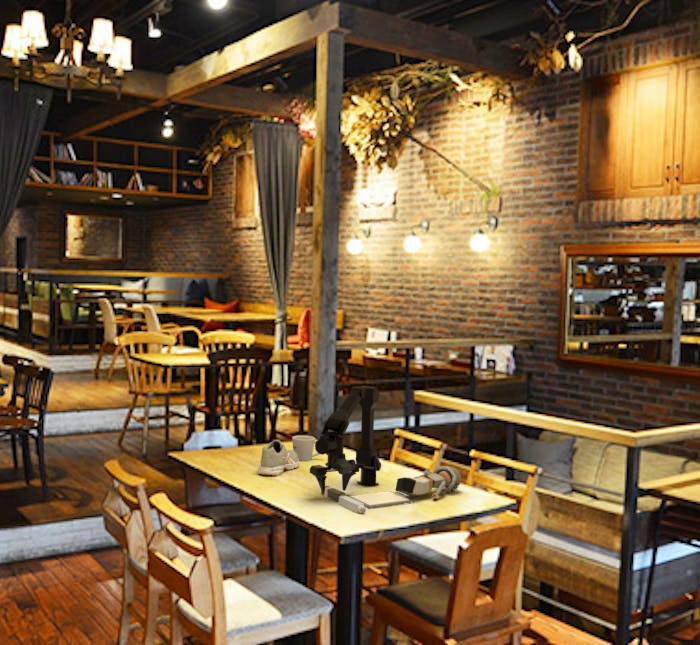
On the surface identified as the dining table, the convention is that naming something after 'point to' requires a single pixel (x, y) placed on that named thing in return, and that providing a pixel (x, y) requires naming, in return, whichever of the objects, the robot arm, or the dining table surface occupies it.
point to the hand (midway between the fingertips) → (333, 491)
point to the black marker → (333, 493)
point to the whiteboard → (382, 499)
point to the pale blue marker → (352, 504)
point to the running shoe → (277, 459)
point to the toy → (430, 482)
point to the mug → (304, 447)
